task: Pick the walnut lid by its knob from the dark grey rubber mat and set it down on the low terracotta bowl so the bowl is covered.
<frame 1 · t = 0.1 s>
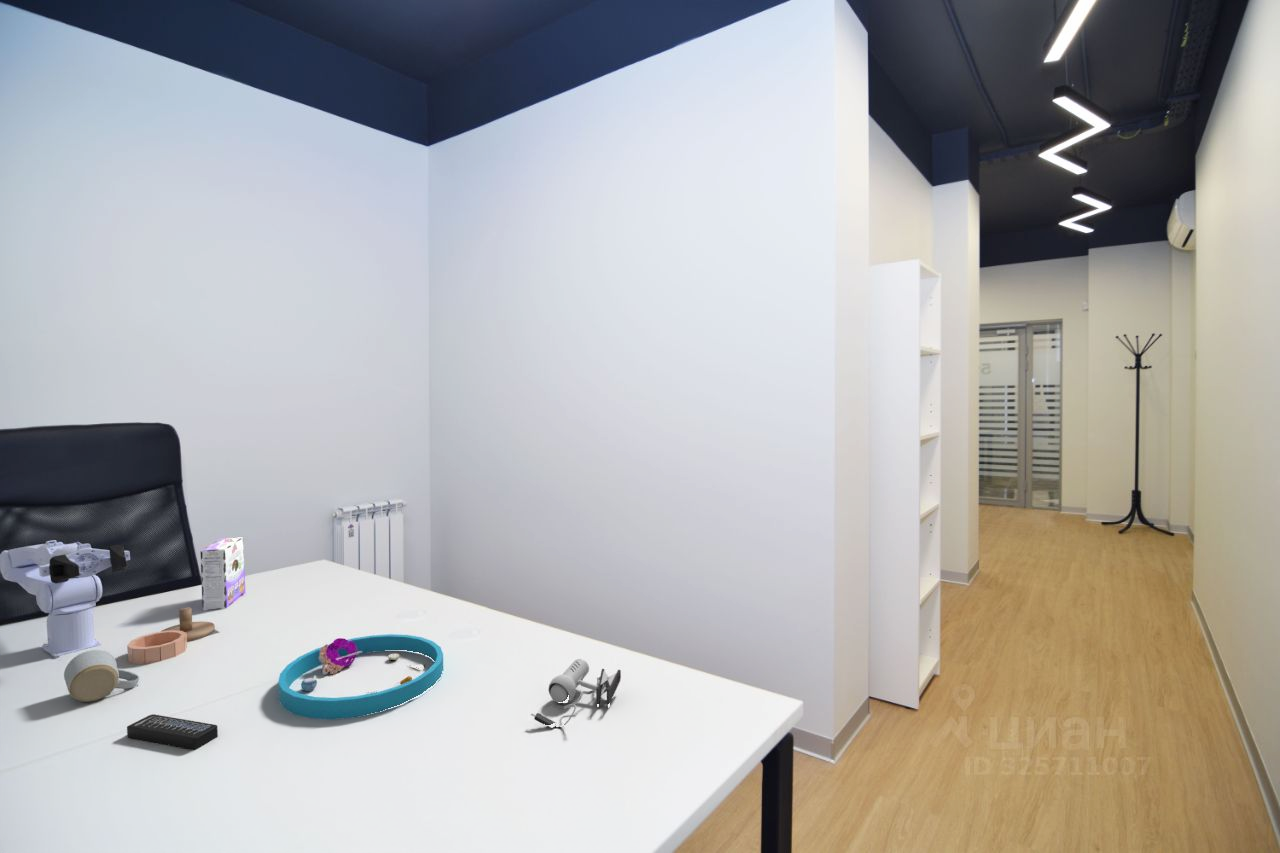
hand: (101, 566, 129), 22 cm above the table, tool horizontal, fingers open, 7 cm apart
teal ring: (365, 683, 126), on the table
mat: (186, 635, 148), on the table
multiport hub: (172, 740, 105), on the table
ceramic mug: (102, 693, 120), on the table
lid: (186, 634, 148), resting on mat
candy box: (224, 603, 171), on the table
clip-on lamp: (576, 709, 116), on the table
bowl: (158, 654, 137), on the table
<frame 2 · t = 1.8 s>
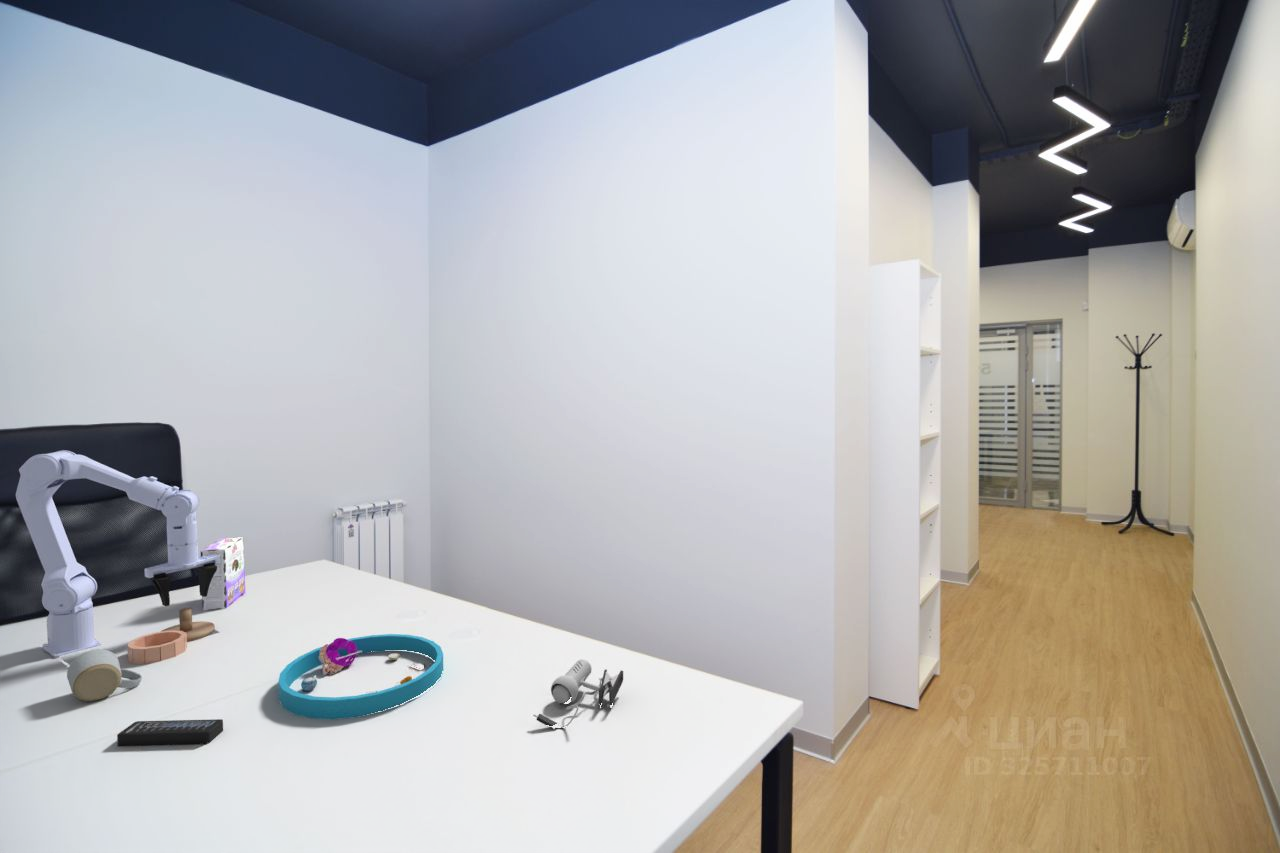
hand: (185, 600, 147), 9 cm above the table, tool pointing down, fingers open, 7 cm apart
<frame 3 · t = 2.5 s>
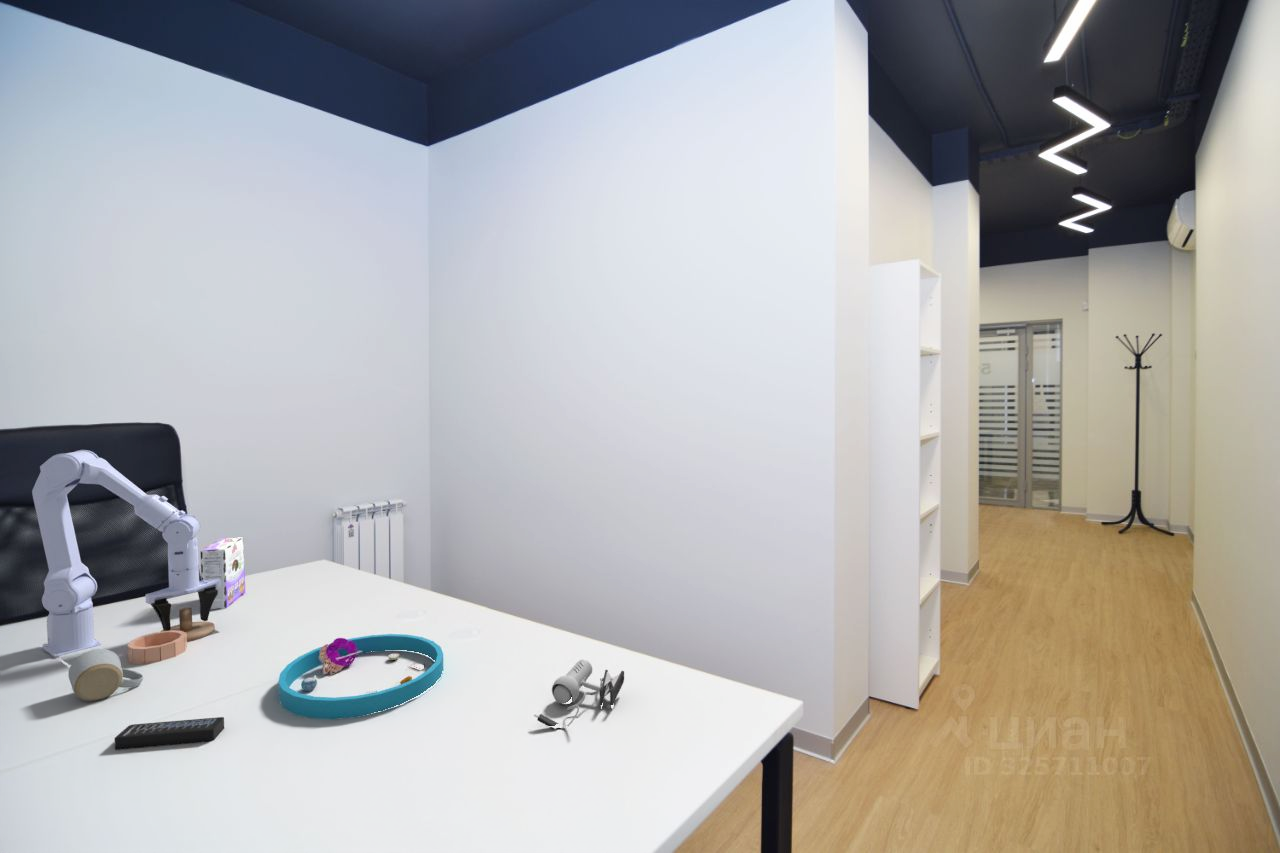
hand: (185, 625, 147), 3 cm above the table, tool pointing down, fingers open, 7 cm apart
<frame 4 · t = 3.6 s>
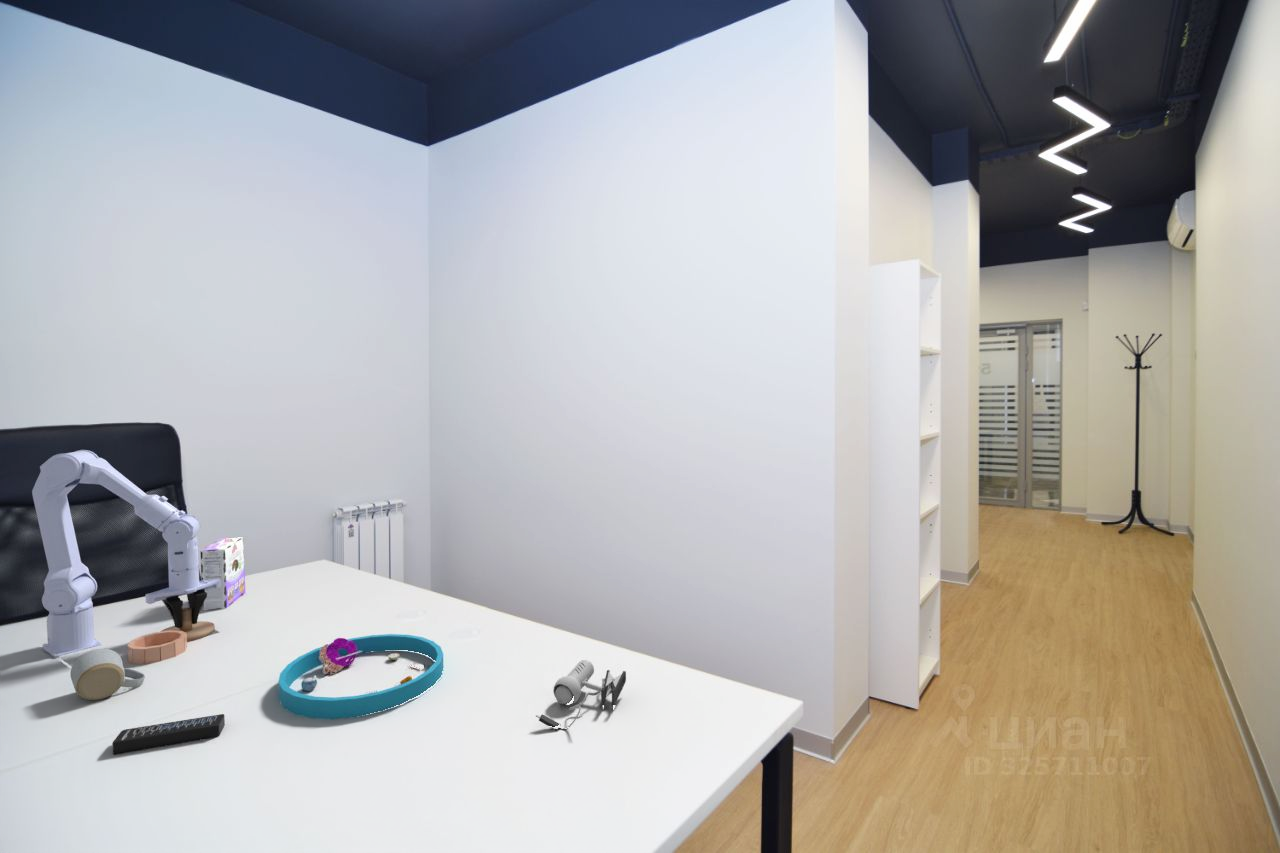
hand: (185, 625, 147), 3 cm above the table, tool pointing down, fingers closed on lid, 2 cm apart
lid: (186, 634, 148), resting on mat, touching gripper
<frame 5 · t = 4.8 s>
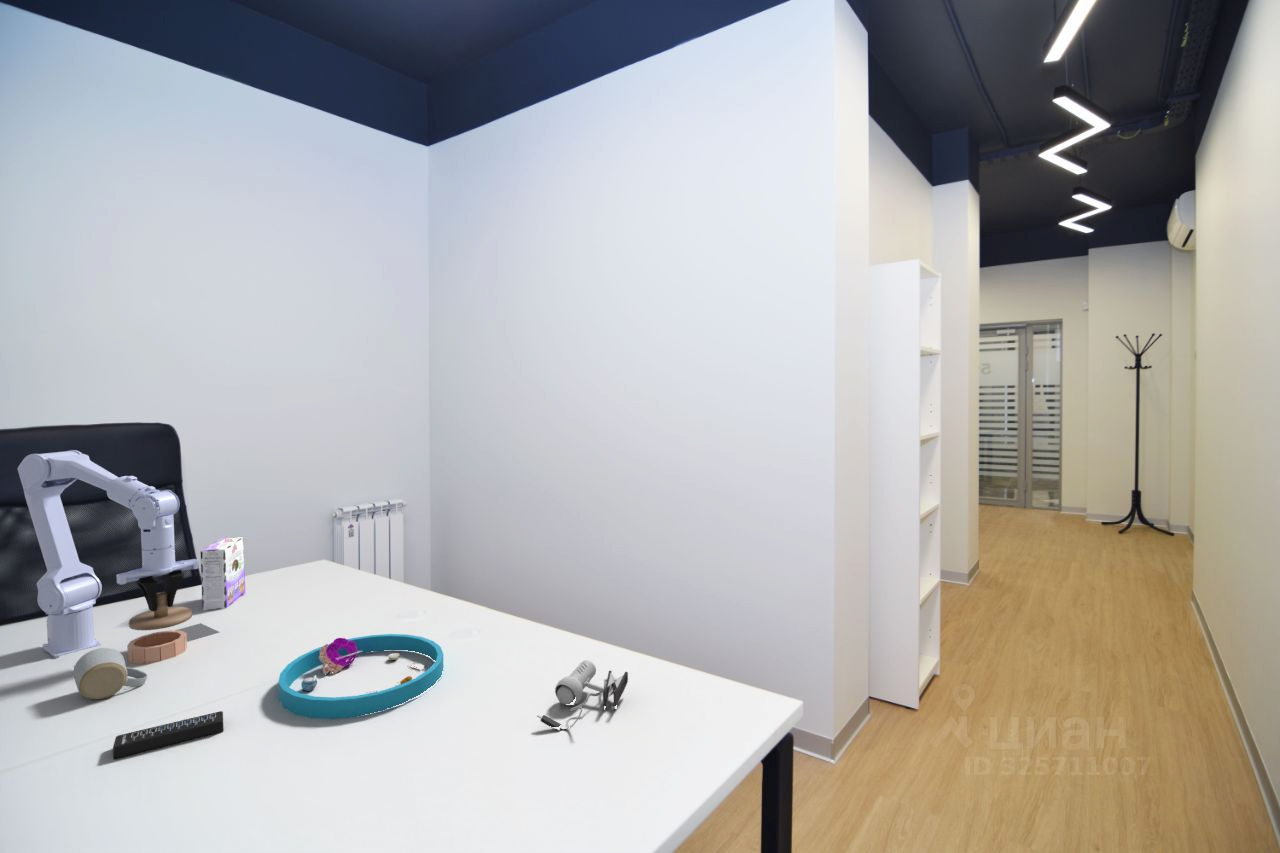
hand: (160, 608, 138), 10 cm above the table, tool pointing down, fingers closed on lid, 2 cm apart
lid: (161, 620, 138), point 7 cm above the table, touching gripper
when the fingers open (7 cm above the table, at t = 6.1 s): lid stays where it is, resting on bowl.
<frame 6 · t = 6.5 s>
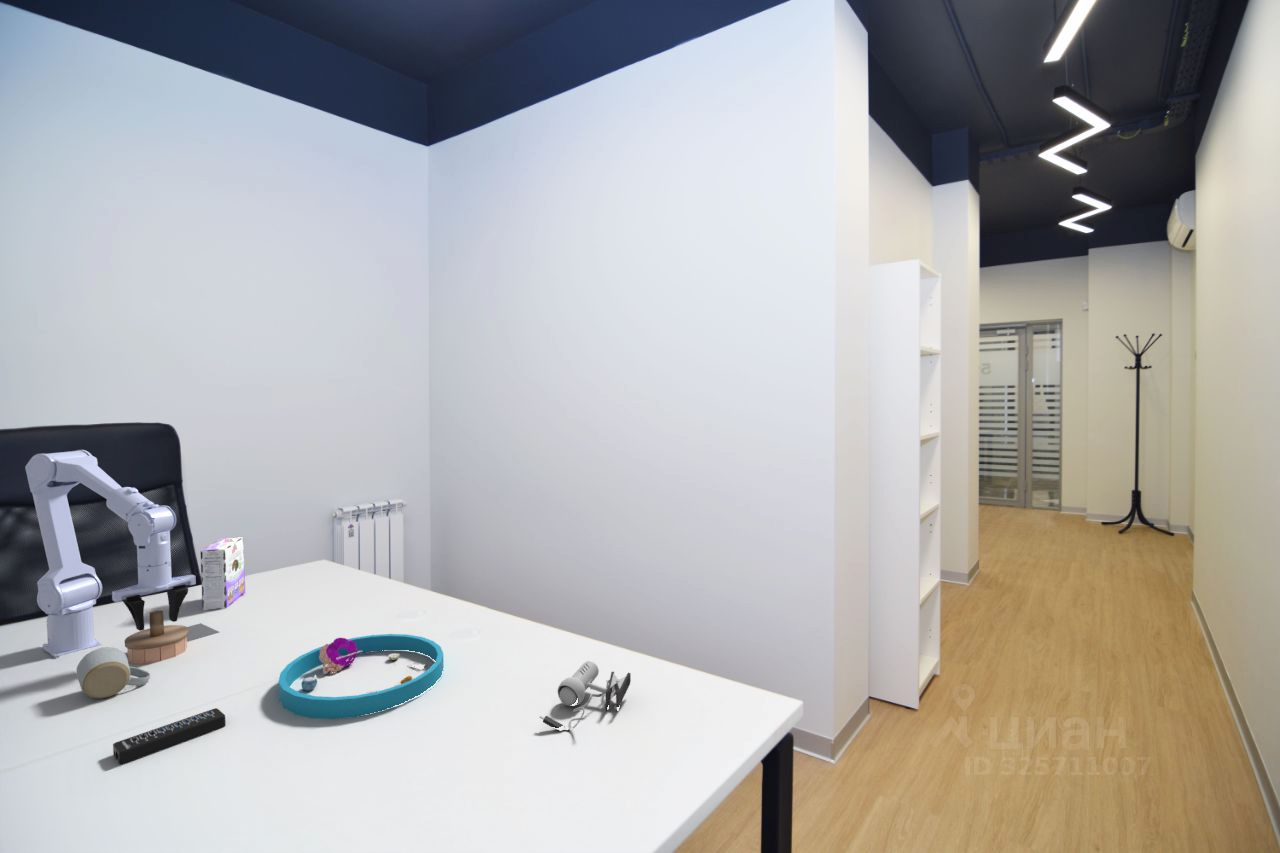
hand: (157, 624, 137), 7 cm above the table, tool pointing down, fingers open, 5 cm apart
lid: (157, 639, 137), point 3 cm above the table, touching bowl
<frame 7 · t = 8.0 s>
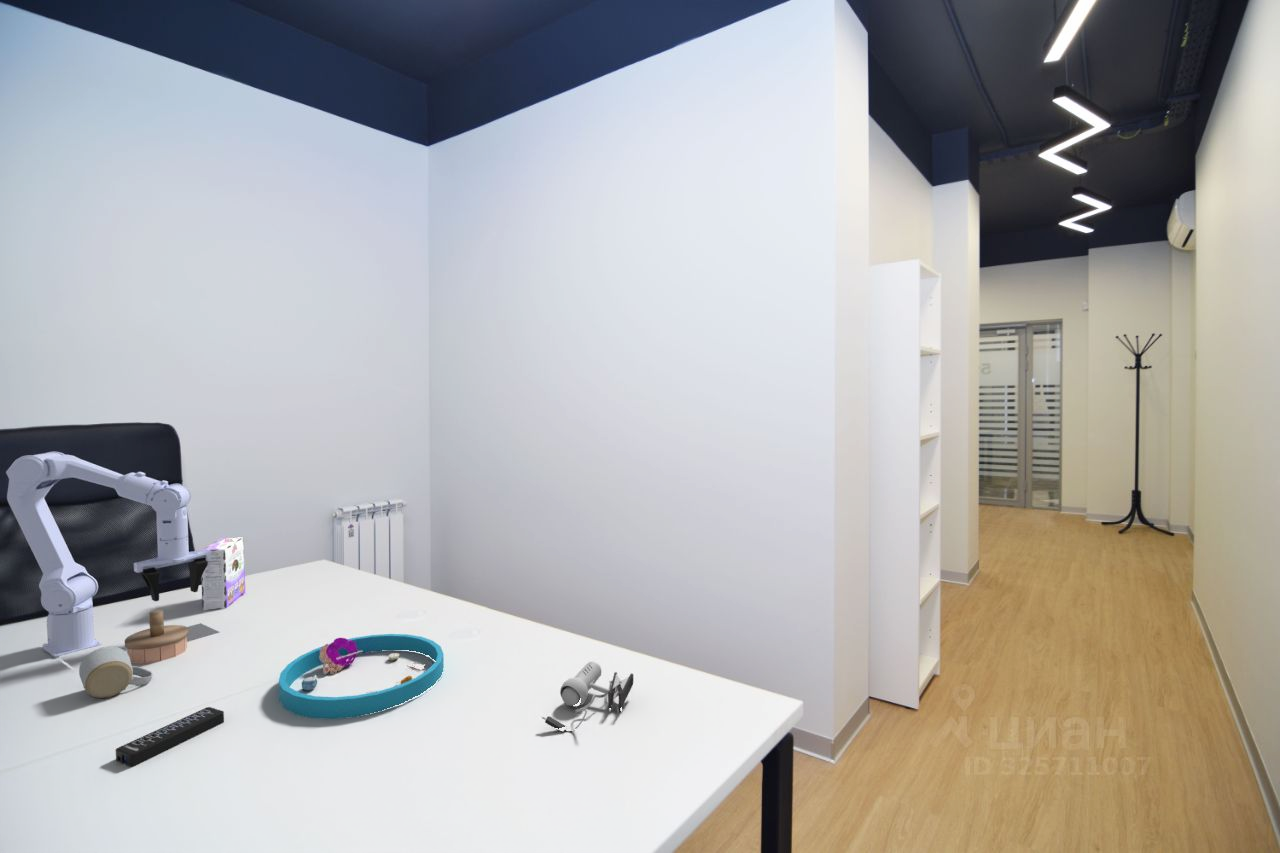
hand: (175, 595, 145), 10 cm above the table, tool pointing down, fingers open, 7 cm apart
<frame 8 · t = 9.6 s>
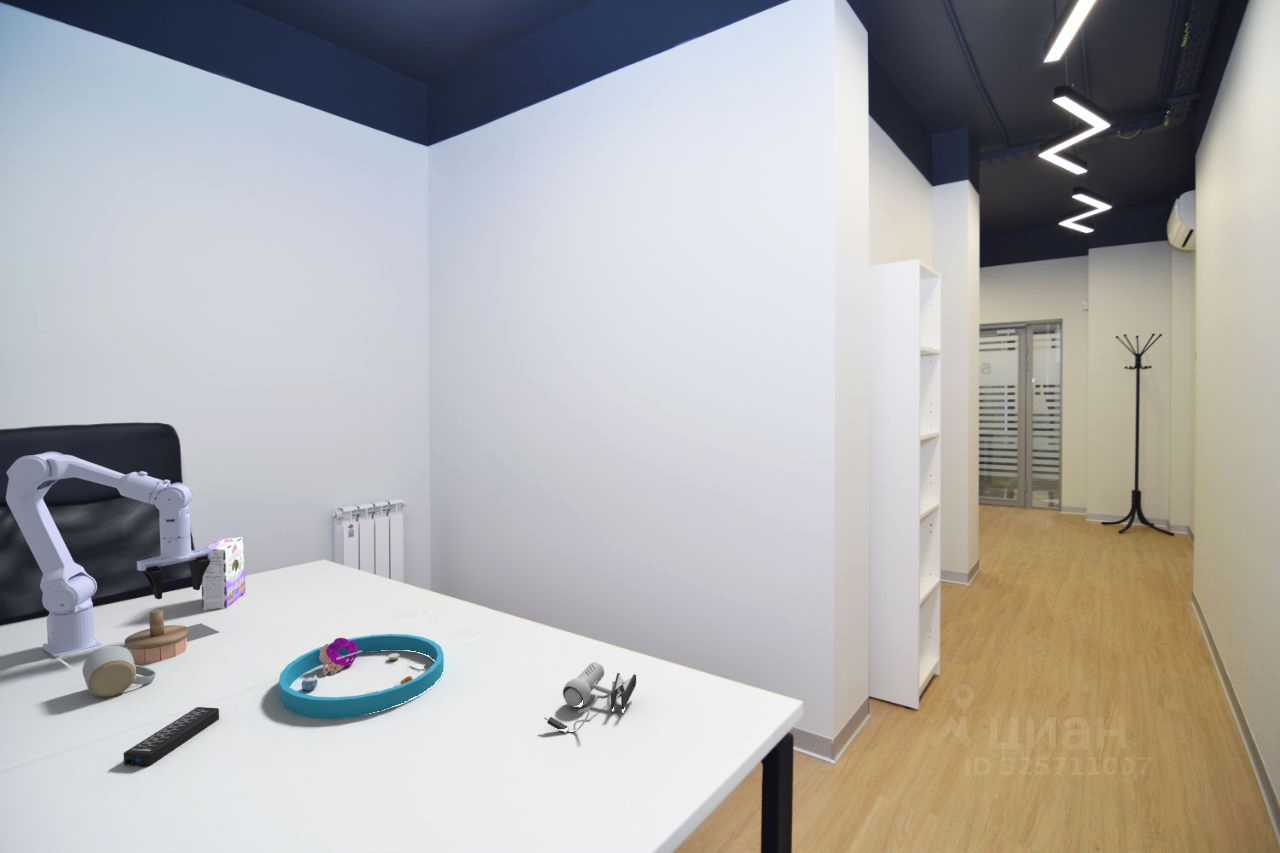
hand: (177, 593, 147), 10 cm above the table, tool pointing down, fingers open, 7 cm apart
at the end: lid 0.2 cm off-centre on the bowl, point 3.5 cm above the bowl's base; lid tilted 0°; the gripper is holding nothing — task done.
